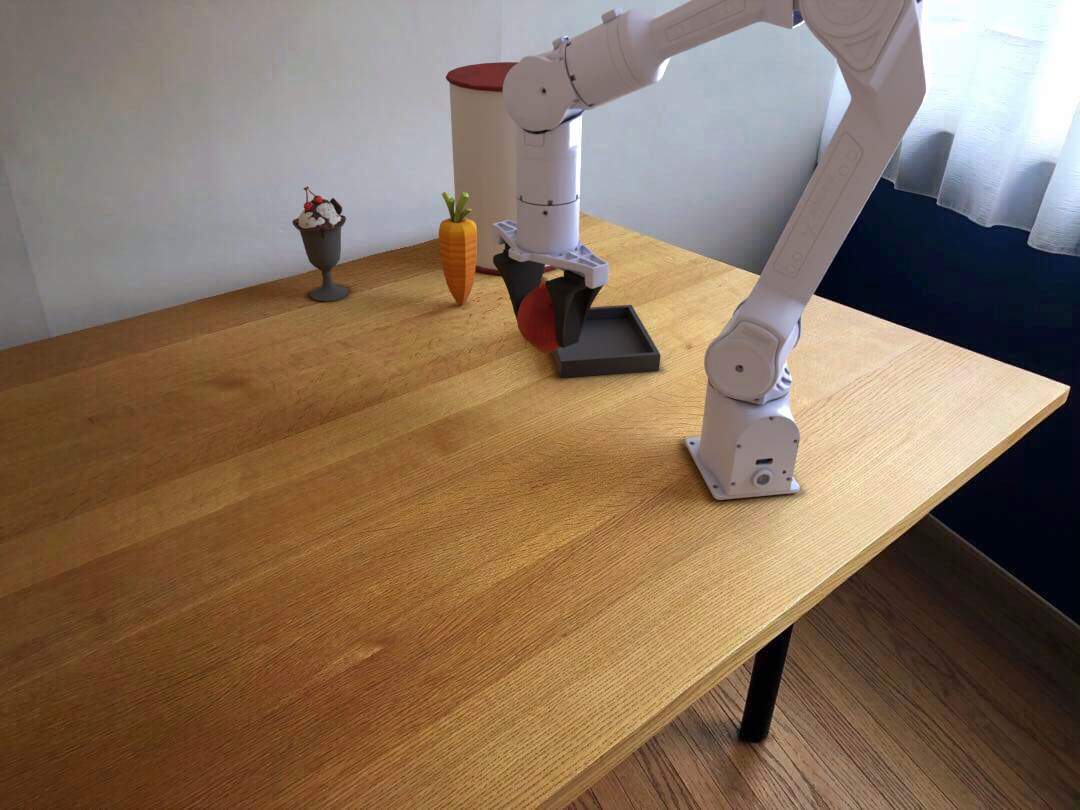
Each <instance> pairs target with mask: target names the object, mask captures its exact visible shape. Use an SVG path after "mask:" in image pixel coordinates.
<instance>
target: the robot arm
mask: <svg viewBox="0 0 1080 810" xmlns="http://www.w3.org/2000/svg"><path fill="white" fill-rule="evenodd" d="M928 2H929V0H689V1H687V2H685V3H683V4H681V5H679V6H677V7H675V8H673V9H671V10H669V11H668V12H665V13H663V14H662V15H659V16H658V17H657V16H654V15H651V14H649V13H647V12H645V11H642V10H640V9H637V8H632V9H629V10H627V11H625V12H624V11H623V8H622V7H621V6H620V7H616V8H612V9H610V10H608V11H607V12H604V13H602V14H601V16H600V17H601V20H602V23H600V24H598V25H596V26H594V27H592V28H590V29H588V30H585V31H584V32H582V33H579V34H578V35H576V36H573V37H571V38H570V37H569V35H567V34H565V35H562V36H560V37H557V38H555V39H553V41H552V46H553V49H551V50H548V51H545V52H542V53H540V54H536V55H535V54H534V55H526V56H523V57H522V58H521V59H520V61H518V62H519V63H517V64H516V65H515V66H513V67H512V68H511V69H510V71H509V72H508V74H507V75H506V77H505V80H504V84H503V101H504V105H505V108H506V110H507V112H508V114H509V116H510V117H511V118H512V120H513V121H514V122H515V134H516V214H517V223H516V222H512V221H510V220H506V221H502V222H498V223H495V224H492V229H493V243H495V244H497V245H503V244H505V249H504V250H503V253H499V254H496V255H494V256H493V263H494V265H495V266H496V268H497V269H498V271H499V273H500V274H501V275H500V276H501V278H502V280H503V282H504V283H503V284H505V287H506V289H507V292H508V296H509V298H510V302H511V306H512V309H513V313H514V316H515V319H516V321H517V316H518V311H519V307H520V304H521V302H522V300H523V299H524V297H525V296H526V295H527V294H528V293H529V292H531V291H532V290H533V289H534V288H536V287H538V286H540V283H541V277H544V272H543V271H544V267H545V264H546V265H551V266H553V267H555V268H556V269H557V270H560V271H562V272H563V276H562V275H561V276H558V277H555V278H552V279H550V280H549V281H546V287H547V290H548V292H549V294H550V297H551V300H552V303H553V307H554V313H555V323H556V338H557V342H558V346H560V347H562V348H565V347H568V346H570V345H573V344H575V343H578V341H579V338H580V334H581V331H582V328H583V325H584V322H585V319H586V316H587V314H588V311H589V309H590V307H592V304H593V303H594V301H595V299H596V297H597V296H598V294H599V293H600V291H601V290H602V289H603V287H604V286H605V285H608V284H609V275H610V263H609V262H607V261H605V260H603V259H602V258H600V257H599V256H598V255H596V254H595V253H594V252H593V251H592V250H591V249H590V248H589V247H588V246H586V244H584V242H583V241H581V240H580V208H581V207H580V205H581V170H582V169H581V168H582V167H581V165H582V121H583V116H584V114H585V112H586V111H591V110H595V109H597V108H600V107H603V106H605V105H607V104H609V103H612V102H614V101H617V100H619V99H621V98H624V97H626V96H628V95H631V94H634V93H635V92H638V91H640V90H642V89H645V88H647V87H650V86H652V85H655V84H657V83H659V82H660V81H661V80H662V78H663V76H664V73H665V71H666V68H667V66H668V64H669V62H670V60H671V59H672V57H674V56H678V55H680V54H682V53H684V52H687V51H689V50H692V49H694V48H697V47H700V46H702V45H704V44H707V43H710V42H712V41H714V40H716V39H719V38H723V37H724V36H727V35H730V34H732V33H734V32H736V31H737V32H738V31H739V30H742V29H744V28H747V27H749V26H752V25H755V24H757V23H766V24H769V25H773V26H777V27H780V28H784V29H787V30H793V29H796V28H797V27H799V26H801V25H802V24H805V25H806V27H807V28H808V30H809V31H810V32H811V34H812V35H813V36H814V37H815V38H816V39H817V41H818V42H819V43H820V44H822V46H823V47H824V48H825V49H826V50H827V51H828V52H829V53H830V54H831V55H832V56H833V57H834V59H836V63H837V65H838V67H839V70H840V72H841V75H842V77H843V80H844V82H845V84H846V88H847V90H848V92H849V95H850V102H849V104H848V106H847V108H846V110H845V111H844V114H843V115H842V117H841V119H840V122H839V123H838V125H837V127H836V129H835V132H834V133H833V135H832V137H831V138H830V140H829V143H828V144H827V147H826V149H825V150H824V152H823V154H822V156H821V157H820V160H819V161H818V164H817V165H816V168H815V169H814V171H813V173H812V175H811V177H810V179H809V181H808V183H807V185H806V187H805V189H804V191H803V192H802V195H801V196H800V198H799V200H798V202H797V204H796V206H795V208H794V210H793V211H792V214H791V216H790V218H789V219H788V222H787V223H786V225H785V227H784V229H783V231H782V233H781V234H780V237H779V239H778V241H777V243H776V244H775V246H774V249H772V250H773V251H772V252H771V254H770V256H769V258H768V260H767V261H766V263H765V266H764V268H763V270H762V271H761V274H760V275H759V277H758V279H757V281H756V282H755V285H754V286H753V287H752V290H751V292H750V293H749V294H748V296H747V297H746V298H744V299H743V300H741V302H739V304H738V305H737V306H736V308H735V309H734V311H733V313H732V316H731V318H730V319H729V320H728V322H727V323H726V325H725V326H724V327H723V329H722V330H721V332H720V333H719V334H718V335H717V336H716V337H715V338H713V339H712V341H711V342H710V344H709V345H708V346H707V348H706V351H705V353H704V356H703V357H704V358H703V365H704V371H705V374H706V377H707V382H706V391H705V399H704V406H703V407H704V408H703V416H702V424H701V432H700V436H696V437H695V436H694V437H687V438H685V439H684V445H685V447H686V448H687V451H688V452H689V454H690V456H691V458H692V460H693V462H694V464H695V465H696V467H697V469H698V471H699V473H700V475H701V476H702V479H703V480H704V482H705V485H706V486H707V488H708V490H709V492H710V493H711V495H712V497H713V499H715V500H717V501H723V500H735V499H747V498H755V497H766V496H778V495H785V494H797V493H799V492H800V489H801V487H800V485H799V483H798V482H797V480H796V479H795V478H794V471H795V466H796V461H797V456H798V452H799V451H798V450H799V446H800V440H801V433H800V432H801V431H800V428H799V427H798V424H797V422H796V420H795V419H794V417H793V413H792V410H791V407H790V395H791V388H792V382H793V378H792V376H791V371H790V369H789V365H788V363H787V361H788V358H789V357H790V355H791V353H792V352H793V350H794V349H795V348H796V346H797V345H798V344H799V341H800V339H801V336H802V332H803V315H804V311H805V309H806V308H807V305H809V302H810V301H811V299H812V297H813V296H814V294H815V292H816V290H817V288H818V287H819V285H820V284H821V282H822V280H823V279H824V276H825V275H826V273H827V271H828V269H829V268H830V266H831V264H832V263H833V261H834V259H835V257H836V255H837V254H838V252H839V251H840V248H841V247H842V245H843V244H844V241H845V240H846V238H847V237H848V234H849V233H850V231H851V229H852V227H853V226H854V224H855V222H856V221H857V219H858V217H859V215H860V214H861V212H862V210H863V208H864V207H865V205H866V203H867V202H868V200H869V198H870V196H871V194H872V192H873V191H874V190H875V188H876V186H877V184H878V182H879V181H880V179H881V177H882V175H883V174H884V172H885V170H886V168H887V166H888V165H889V163H890V161H891V159H892V158H893V156H894V154H895V152H896V151H897V149H898V147H899V146H900V144H901V143H902V140H903V138H904V137H905V135H906V134H907V131H908V130H909V128H910V127H911V125H912V123H913V121H914V119H915V118H916V116H917V114H918V112H919V111H920V109H921V108H922V106H923V104H924V102H925V100H926V98H927V97H928V94H929V91H930V88H931V85H932V71H931V69H932V68H931V52H930V34H929V17H928Z"/></svg>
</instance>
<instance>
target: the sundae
mask: <svg viewBox="0 0 1080 810" xmlns="http://www.w3.org/2000/svg"><path fill="white" fill-rule="evenodd" d="M303 190H304V191H305V194H306V197H305V198H306V202H304V204H303V210H302V211H301V213H299V216H298V217H297V218H294V219H293V220H292V221H291V222H292V226H294V228H295V229H296V230H298V231H299V233H300V237H301V240H302V243H303V247H304V250H305V255H306V256H307V259H308V261H309V263H310V264H311V265H312V266H313V267H314V268H316V269H318V270H319V271H321V276H322V284H321V286H318V287H316V288H314V289H312V290H311V292H310V294H309V296H310V298H311V299H312V300H314V301H317V302H324V303H325V302H326V303H327V302H335V301H338V300H342V299H344V298H345V297H347V295H348V294H349V291H348V289H347V287H344V286H342V285H337V284H334V281H333V279H332V270H333V268H335V267H336V266H337V265H338V263H339V262H340V260H341V252H342V227H344V225H345V223H346V221H347V217H346V215H343V214H342V213H343V206H342V205H341V204H340V203H339V202H338V201H337V200H336V198H334V197H332V198H331V199H330V200H329V199H325V198H323V197H322V196H321V195H316V194H315V193H314V192H312V191H310V188H309V186H308V185H307V186H305V187H303ZM308 192H309V194H311V195H312V196H314V197H313V198H312V199H311V200H310V201H309V194H308Z"/></svg>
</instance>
